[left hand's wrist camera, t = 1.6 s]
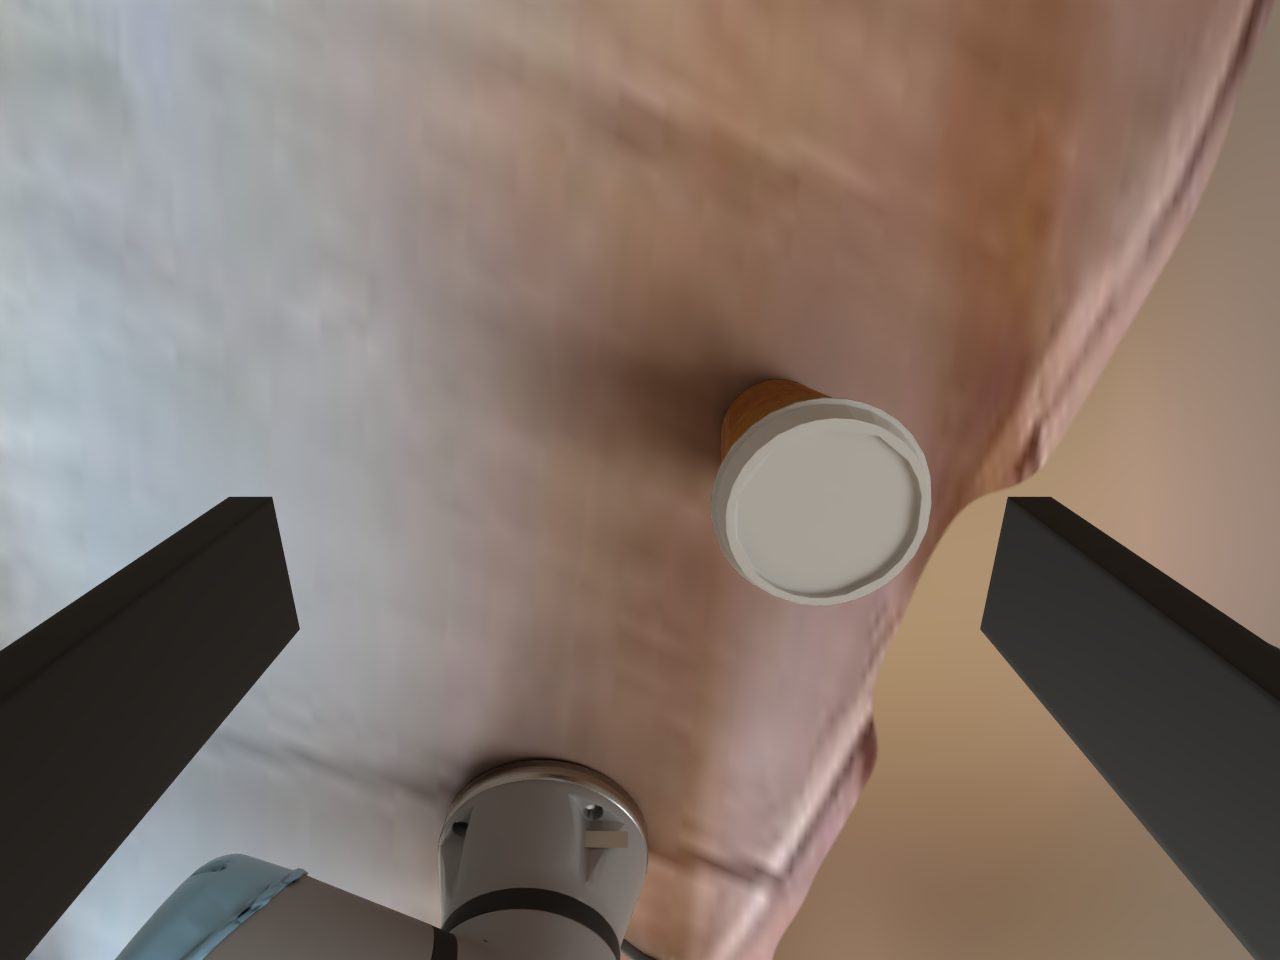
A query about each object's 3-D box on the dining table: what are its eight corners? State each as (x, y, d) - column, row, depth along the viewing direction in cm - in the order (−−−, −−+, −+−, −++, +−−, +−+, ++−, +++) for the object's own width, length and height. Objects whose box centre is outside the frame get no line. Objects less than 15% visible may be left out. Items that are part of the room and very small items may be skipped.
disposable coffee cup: (891, 419, 39) (991, 499, 28) (779, 535, 42) (830, 651, 31) (769, 315, 37) (824, 356, 26) (659, 445, 40) (667, 533, 29)
